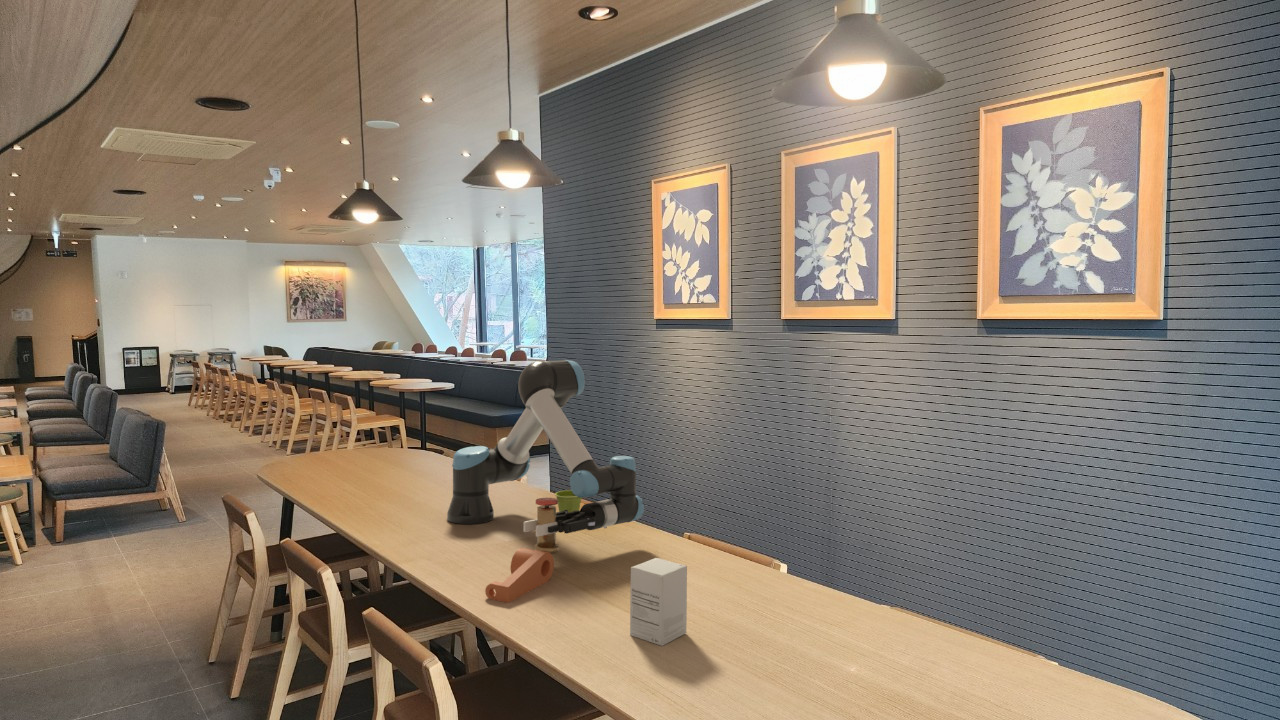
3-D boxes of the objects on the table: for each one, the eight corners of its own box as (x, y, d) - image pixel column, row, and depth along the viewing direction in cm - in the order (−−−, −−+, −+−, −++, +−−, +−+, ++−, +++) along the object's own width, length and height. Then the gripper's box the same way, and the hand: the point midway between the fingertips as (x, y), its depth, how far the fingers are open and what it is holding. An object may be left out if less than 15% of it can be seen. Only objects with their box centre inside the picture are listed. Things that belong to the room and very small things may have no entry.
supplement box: (654, 622, 173) (655, 556, 173) (687, 633, 168) (688, 565, 167) (628, 635, 166) (629, 566, 166) (661, 647, 161) (662, 575, 160)
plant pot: (581, 523, 257) (582, 496, 256) (553, 522, 257) (553, 496, 256) (584, 515, 266) (584, 490, 265) (556, 515, 266) (557, 490, 266)
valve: (529, 550, 212) (530, 499, 211) (549, 546, 216) (549, 496, 215) (543, 556, 207) (544, 504, 206) (563, 551, 211) (563, 500, 211)
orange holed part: (528, 574, 206) (528, 544, 205) (553, 579, 202) (554, 548, 202) (480, 598, 188) (481, 565, 187) (508, 603, 184) (508, 570, 184)
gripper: (618, 534, 217) (550, 550, 201) (578, 521, 230) (511, 535, 214) (618, 507, 217) (550, 521, 201) (578, 496, 230) (511, 508, 214)
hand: (530, 529), depth 208 cm, fingers closed on valve, 5 cm apart
